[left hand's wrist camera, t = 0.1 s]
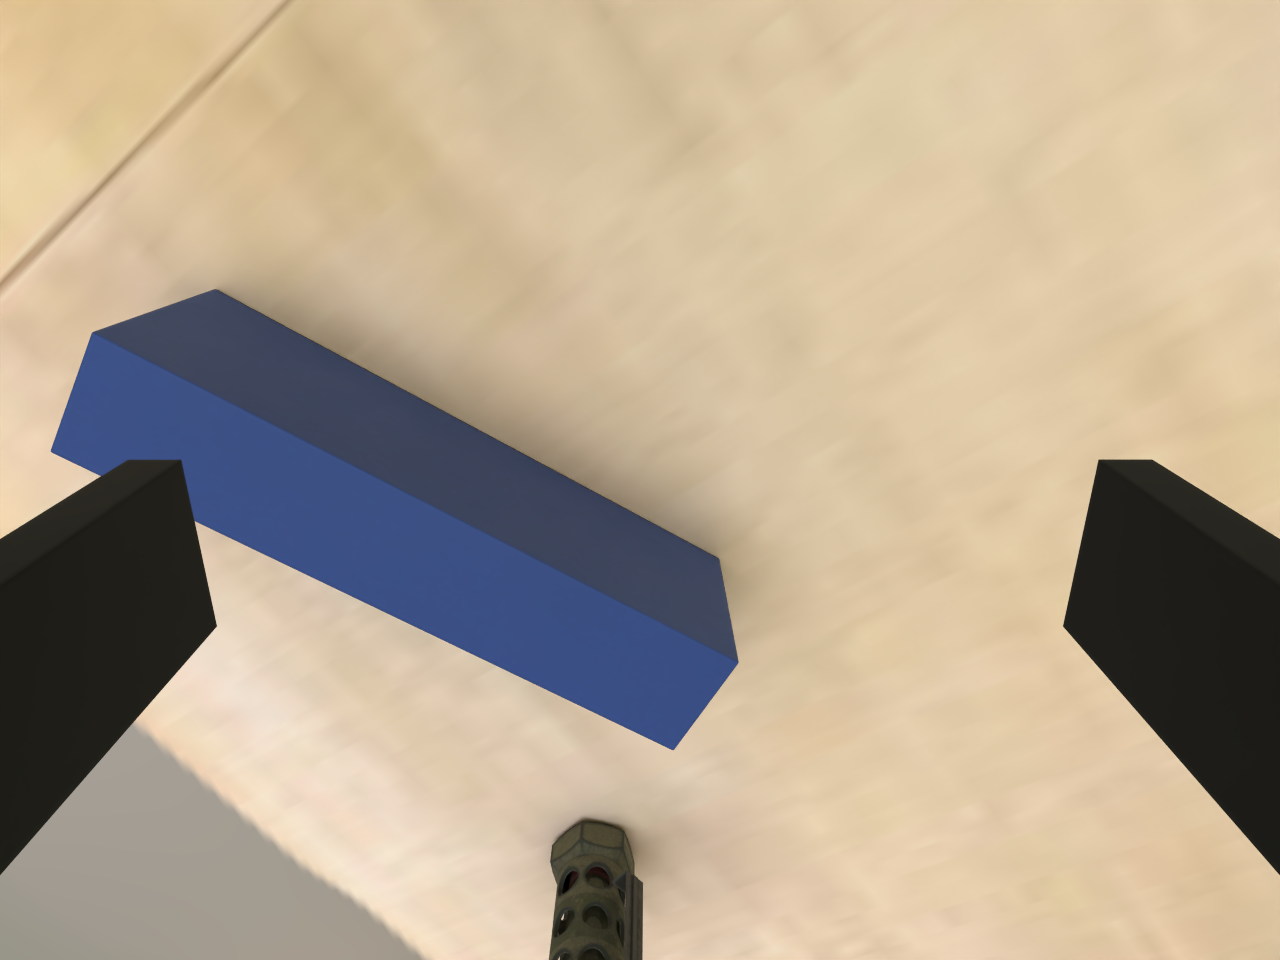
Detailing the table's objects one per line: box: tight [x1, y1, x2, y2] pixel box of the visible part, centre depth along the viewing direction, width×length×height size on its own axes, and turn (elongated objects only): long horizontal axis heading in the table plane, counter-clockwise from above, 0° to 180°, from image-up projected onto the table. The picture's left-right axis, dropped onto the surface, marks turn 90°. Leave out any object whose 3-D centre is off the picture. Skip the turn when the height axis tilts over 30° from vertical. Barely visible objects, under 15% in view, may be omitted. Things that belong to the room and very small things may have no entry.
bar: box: [51, 289, 738, 750], centre depth 38 cm, size 27×5×9 cm, turn 60°
